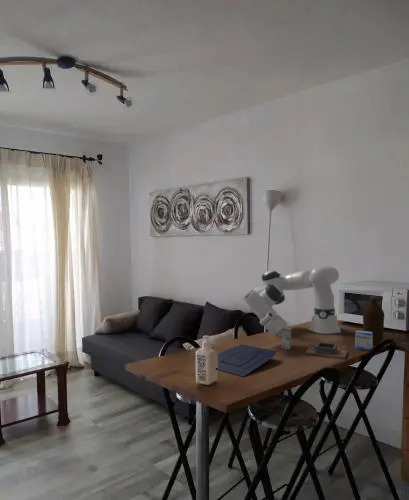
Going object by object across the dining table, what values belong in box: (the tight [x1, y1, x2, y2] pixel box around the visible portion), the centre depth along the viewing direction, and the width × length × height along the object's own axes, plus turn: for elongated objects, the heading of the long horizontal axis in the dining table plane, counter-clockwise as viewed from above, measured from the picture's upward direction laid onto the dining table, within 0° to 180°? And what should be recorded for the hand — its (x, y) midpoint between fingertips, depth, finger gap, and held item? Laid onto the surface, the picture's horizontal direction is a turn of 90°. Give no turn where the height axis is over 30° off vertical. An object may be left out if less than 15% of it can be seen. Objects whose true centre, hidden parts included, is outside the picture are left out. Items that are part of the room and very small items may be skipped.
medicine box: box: [354, 330, 374, 351], centre depth 202 cm, size 8×4×9 cm, turn 62°
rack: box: [304, 342, 348, 360], centre depth 193 cm, size 12×18×4 cm, turn 65°
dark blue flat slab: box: [217, 343, 279, 377], centre depth 180 cm, size 24×30×4 cm
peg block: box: [280, 327, 292, 351], centre depth 203 cm, size 4×4×10 cm
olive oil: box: [362, 295, 385, 346], centre depth 213 cm, size 11×11×25 cm
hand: (287, 336), depth 203 cm, fingers closed on peg block, 4 cm apart
